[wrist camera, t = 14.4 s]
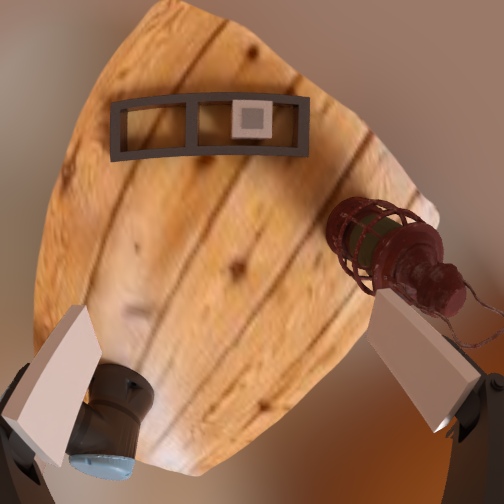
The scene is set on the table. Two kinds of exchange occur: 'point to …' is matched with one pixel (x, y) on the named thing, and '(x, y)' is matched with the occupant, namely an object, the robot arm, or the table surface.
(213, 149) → the dark grey divided frame
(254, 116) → the block
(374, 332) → the robot arm
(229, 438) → the table surface
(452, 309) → the lantern
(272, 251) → the table surface
